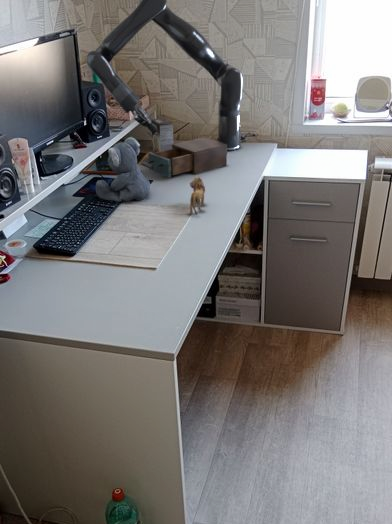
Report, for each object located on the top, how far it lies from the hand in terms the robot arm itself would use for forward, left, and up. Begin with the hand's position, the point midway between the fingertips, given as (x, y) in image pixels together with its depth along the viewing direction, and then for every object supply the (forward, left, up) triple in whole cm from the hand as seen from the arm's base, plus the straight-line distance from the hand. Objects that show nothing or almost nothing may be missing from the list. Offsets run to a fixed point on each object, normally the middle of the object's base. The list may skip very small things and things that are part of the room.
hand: (155, 132), depth 227 cm
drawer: (+3, +12, -12) cm, 18 cm away
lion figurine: (+18, +50, -13) cm, 54 cm away
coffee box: (-6, -4, -13) cm, 15 cm away
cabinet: (-13, +12, -13) cm, 22 cm away
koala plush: (+29, +23, -13) cm, 40 cm away
